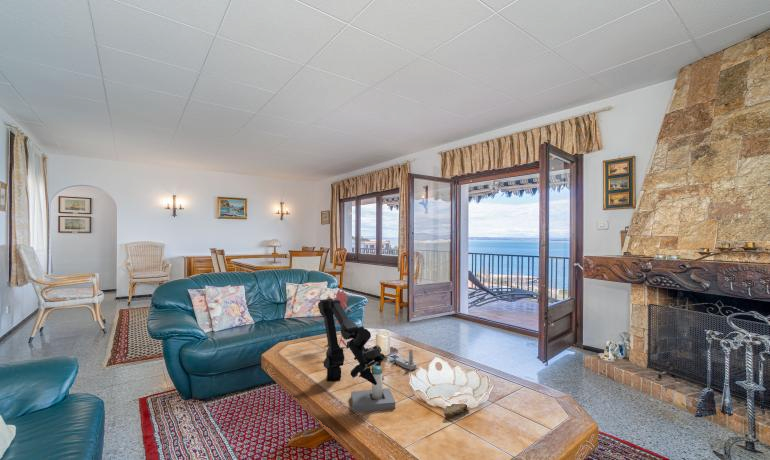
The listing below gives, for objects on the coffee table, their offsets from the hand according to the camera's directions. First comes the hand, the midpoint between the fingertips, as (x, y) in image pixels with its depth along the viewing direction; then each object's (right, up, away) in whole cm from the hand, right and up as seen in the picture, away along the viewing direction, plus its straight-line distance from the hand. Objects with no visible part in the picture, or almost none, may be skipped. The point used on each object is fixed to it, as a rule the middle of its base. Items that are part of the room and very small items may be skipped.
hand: (379, 382), depth 148 cm
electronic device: (+13, -9, +41) cm, 44 cm away
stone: (+30, -9, -8) cm, 33 cm away
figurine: (-26, -9, +76) cm, 81 cm away
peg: (-1, -7, +1) cm, 7 cm away
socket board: (-3, -9, 0) cm, 9 cm away
